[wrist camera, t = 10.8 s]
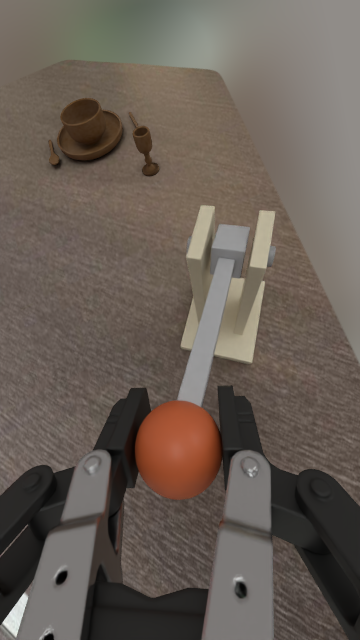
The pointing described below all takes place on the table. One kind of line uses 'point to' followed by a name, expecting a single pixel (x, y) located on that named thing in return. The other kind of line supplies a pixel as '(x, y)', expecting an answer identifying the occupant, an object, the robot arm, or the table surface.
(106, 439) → the robot arm
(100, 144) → the place setting
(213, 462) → the lever
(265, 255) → the bracket
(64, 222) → the table surface
